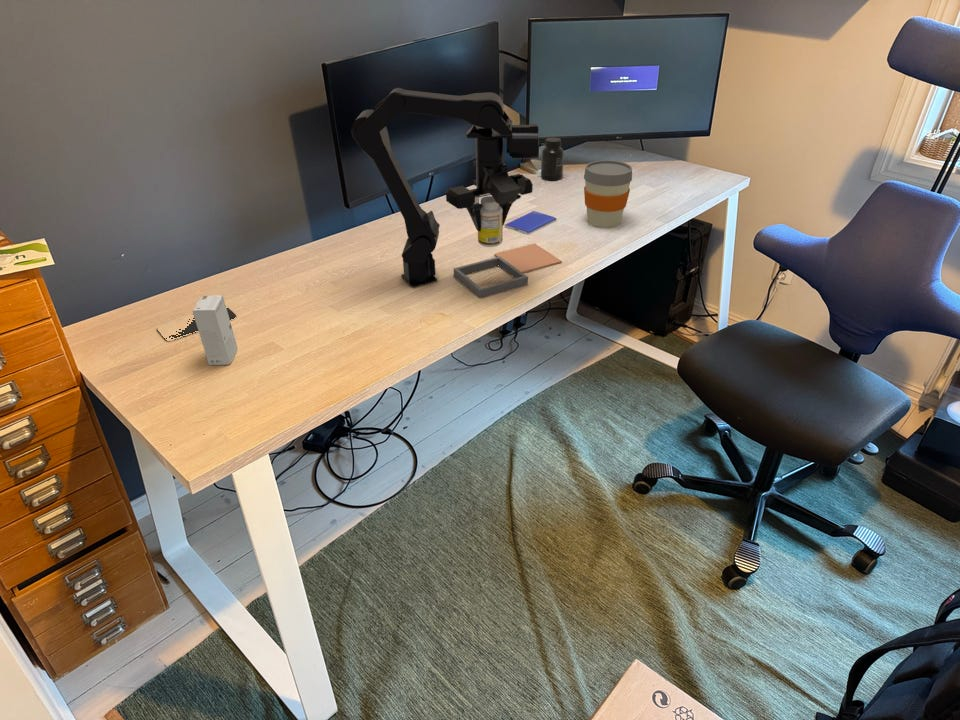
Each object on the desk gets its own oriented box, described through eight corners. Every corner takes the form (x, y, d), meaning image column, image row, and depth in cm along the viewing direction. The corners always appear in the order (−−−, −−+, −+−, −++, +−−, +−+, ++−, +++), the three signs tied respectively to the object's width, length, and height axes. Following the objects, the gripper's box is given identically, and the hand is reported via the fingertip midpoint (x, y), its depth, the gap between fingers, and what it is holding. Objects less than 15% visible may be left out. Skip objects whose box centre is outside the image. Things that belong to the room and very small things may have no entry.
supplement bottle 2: (560, 173, 218) (562, 136, 211) (564, 181, 213) (566, 142, 206) (539, 174, 218) (540, 136, 211) (542, 181, 212) (543, 143, 206)
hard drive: (533, 210, 190) (504, 223, 183) (556, 217, 186) (528, 231, 178) (532, 215, 191) (504, 229, 184) (556, 222, 186) (528, 237, 179)
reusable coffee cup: (571, 221, 186) (574, 167, 177) (600, 209, 192) (605, 157, 184) (606, 234, 178) (612, 179, 169) (636, 221, 185) (643, 167, 176)
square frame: (479, 298, 150) (479, 290, 149) (453, 276, 160) (453, 268, 158) (527, 284, 155) (527, 276, 154) (499, 263, 165) (499, 256, 163)
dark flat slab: (238, 316, 145) (166, 340, 137) (238, 320, 145) (168, 344, 137) (224, 303, 149) (154, 326, 142) (225, 307, 150) (155, 329, 142)
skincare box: (231, 365, 130) (216, 310, 123) (207, 366, 130) (191, 311, 123) (238, 347, 135) (224, 294, 128) (215, 348, 135) (200, 295, 128)
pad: (519, 274, 160) (519, 272, 159) (494, 255, 168) (494, 253, 168) (561, 262, 165) (561, 260, 164) (534, 245, 173) (534, 243, 173)
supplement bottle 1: (488, 235, 156) (488, 192, 150) (507, 242, 153) (508, 198, 147) (472, 243, 152) (471, 200, 146) (491, 250, 149) (491, 205, 143)
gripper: (469, 177, 132) (471, 250, 141) (548, 160, 140) (545, 231, 148) (443, 161, 140) (446, 232, 149) (519, 147, 148) (518, 215, 156)
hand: (490, 228), depth 150 cm, fingers closed on supplement bottle 1, 5 cm apart
